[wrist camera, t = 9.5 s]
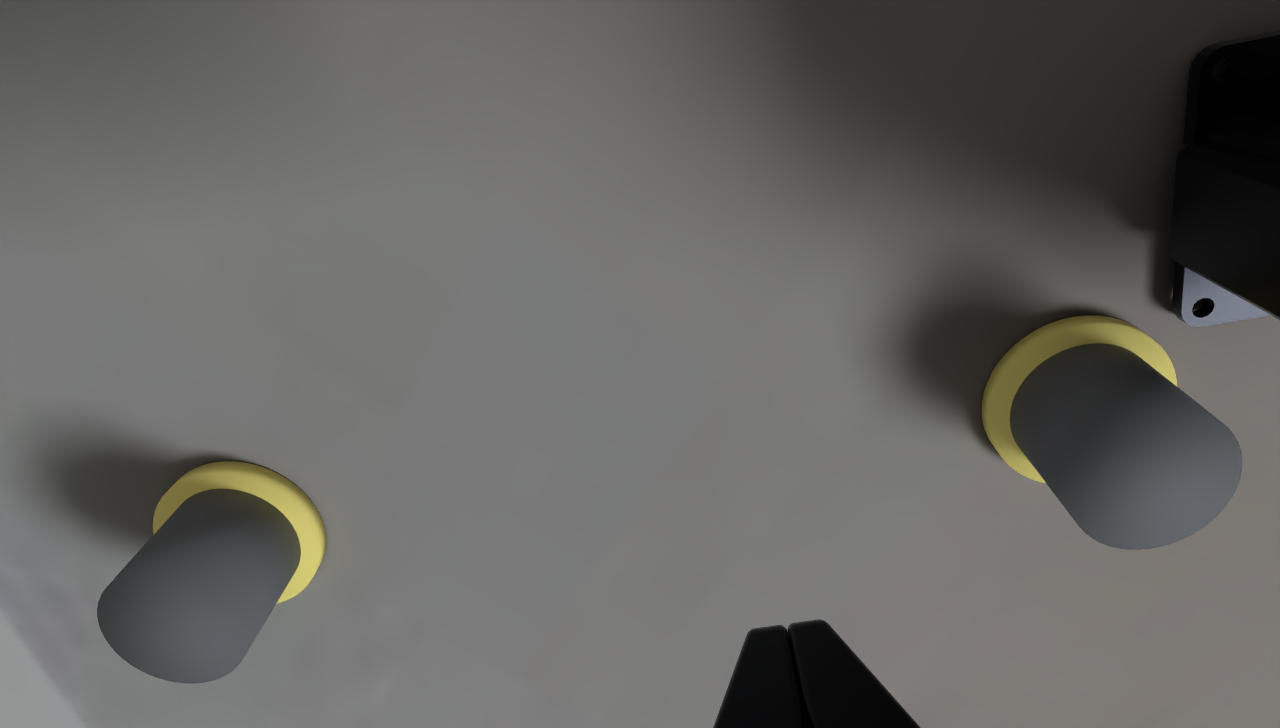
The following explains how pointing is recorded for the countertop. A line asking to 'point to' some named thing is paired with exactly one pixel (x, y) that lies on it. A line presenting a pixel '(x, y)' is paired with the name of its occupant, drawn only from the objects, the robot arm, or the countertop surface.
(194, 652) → the bollards
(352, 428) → the countertop surface
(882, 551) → the countertop surface
